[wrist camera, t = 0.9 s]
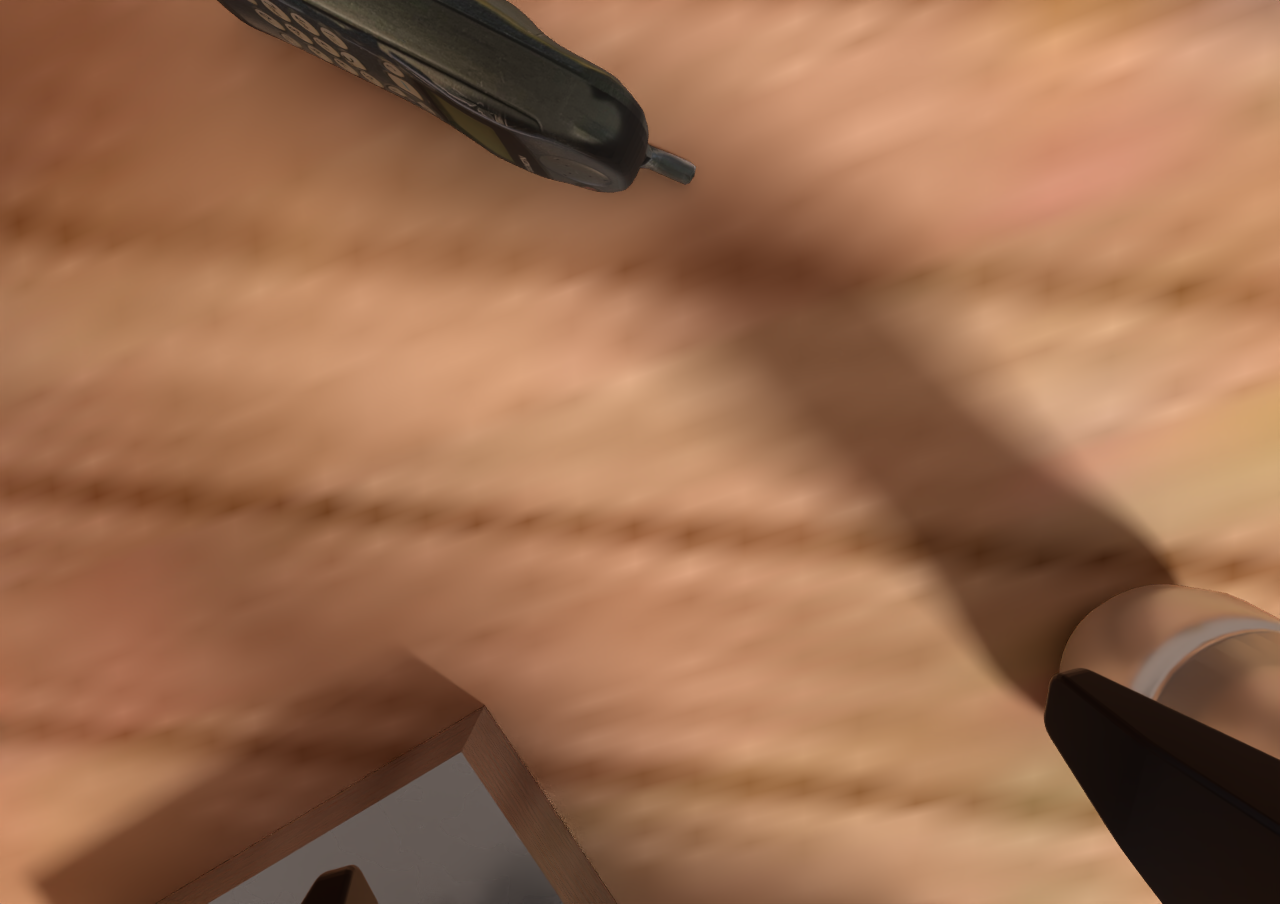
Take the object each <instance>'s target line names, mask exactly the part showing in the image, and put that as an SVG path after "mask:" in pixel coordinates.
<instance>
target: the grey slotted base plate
mask: <svg viewBox="0 0 1280 904" xmlns="http://www.w3.org/2000/svg"><path fill="white" fill-rule="evenodd" d="M348 865H355V866H357V867H359V868H360V870H361V871H362V873H363V875H364V877H365V879H366V881H367V882H368V884H369V886H370V888H371V890H372V892H373V894H374V895H375V897H376V899H377V901H378V904H617V903H616V902H615V900H614V899H613V897H612V896H611V894H610V893H609V891H608V890H607V888H606V887H605V885H604V884H603V882H602V881H601V879H600V878H599V876H598V875H597V873H596V872H595V870H594V869H593V867H592V866H591V864H590V863H589V861H588V860H587V858H586V857H585V855H584V854H583V852H582V851H581V849H580V848H579V846H578V845H577V843H576V842H575V840H574V839H573V837H572V836H571V834H570V833H569V831H568V830H567V828H566V827H565V825H564V824H563V822H562V821H561V819H560V818H559V816H558V815H557V813H556V812H555V810H554V809H553V807H552V806H551V804H550V803H549V801H548V800H547V798H546V797H545V795H544V794H543V792H542V791H541V789H540V788H539V786H538V785H537V783H536V782H535V780H534V779H533V777H532V776H531V774H530V773H529V771H528V770H527V768H526V767H525V765H524V764H523V762H522V761H521V759H520V758H519V756H518V755H517V753H516V752H515V750H514V749H513V747H512V746H511V744H510V743H509V741H508V740H507V738H506V737H505V735H504V734H503V732H502V731H501V729H500V728H499V726H498V725H497V723H496V722H495V720H494V719H493V717H492V716H491V714H490V713H489V711H488V710H487V708H486V707H485V706H484V707H482V708H480V709H479V710H477V711H475V712H474V713H472V714H470V715H469V716H467V717H465V718H464V719H462V720H460V721H459V722H457V723H455V724H454V725H452V726H450V727H449V728H447V729H445V730H444V731H442V732H440V733H439V734H437V735H435V736H434V737H432V738H430V739H429V740H427V741H425V742H424V743H422V744H420V745H419V746H417V747H415V748H414V749H412V750H410V751H409V752H407V753H405V754H404V755H402V756H400V757H399V758H397V759H395V760H394V761H392V762H391V763H389V764H387V765H386V766H384V767H382V768H381V769H379V770H377V771H376V772H374V773H372V774H371V775H369V776H367V777H366V778H364V779H362V780H361V781H359V782H357V783H356V784H354V785H352V786H351V787H349V788H347V789H346V790H344V791H342V792H341V793H339V794H337V795H336V796H334V797H332V798H331V799H329V800H327V801H326V802H324V803H322V804H321V805H319V806H317V807H316V808H314V809H312V810H311V811H309V812H307V813H306V814H304V815H302V816H301V817H299V818H297V819H296V820H294V821H292V822H291V823H289V824H287V825H286V826H284V827H283V828H281V829H279V830H278V831H276V832H274V833H273V834H271V835H269V836H268V837H266V838H264V839H263V840H261V841H259V842H258V843H256V844H254V845H253V846H251V847H249V848H248V849H246V850H244V851H243V852H241V853H239V854H238V855H236V856H234V857H233V858H231V859H229V860H228V861H226V862H224V863H223V864H221V865H219V866H218V867H216V868H214V869H213V870H211V871H209V872H208V873H206V874H204V875H203V876H201V877H199V878H198V879H196V880H194V881H193V882H191V883H189V884H188V885H186V886H184V887H183V888H181V889H179V890H178V891H176V892H174V893H173V894H171V895H170V896H168V897H166V898H165V899H163V900H161V901H160V902H158V903H156V904H301V902H302V901H303V899H304V898H305V896H306V894H307V893H308V891H309V890H310V888H311V886H312V885H313V883H314V882H315V880H316V879H317V878H318V877H319V876H320V875H321V874H322V873H324V872H326V871H330V870H333V869H337V868H341V867H344V866H348Z"/></svg>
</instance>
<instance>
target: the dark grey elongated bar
mask: <svg viewBox="0 0 1280 904" xmlns="http://www.w3.org/2000/svg"><path fill="white" fill-rule="evenodd" d="M218 1H219V2H220V3H221V4H222V5H223V6H224V7H225V8H227V9H228V10H229V11H230V12H231V13H232V14H234V15H235V16H236V17H237V18H239V19H240V20H241V21H243V22H245V23H246V24H248V25H250V26H251V27H253V28H255V29H258V30H260V31H262V32H264V33H267V34H269V35H272V36H274V37H277V38H279V39H281V40H283V41H285V42H288V43H290V44H292V45H294V46H296V47H298V48H300V49H302V50H304V51H306V52H308V53H310V54H313V55H315V56H317V57H319V58H321V59H323V60H325V61H327V62H329V63H331V64H333V65H335V66H337V67H339V68H341V69H344V70H346V71H348V72H350V73H352V74H354V75H356V76H358V77H360V78H362V79H364V80H366V81H368V82H370V83H373V84H375V85H377V86H379V87H381V88H383V89H385V90H387V91H389V92H391V93H393V94H396V95H398V96H400V97H402V98H404V99H406V100H408V101H410V102H411V103H413V104H415V105H417V106H418V107H420V108H422V109H424V110H426V111H428V112H430V113H431V114H433V115H435V116H436V117H438V118H440V119H441V120H443V121H445V122H446V123H448V124H449V125H451V126H452V127H454V128H455V129H457V130H459V131H460V132H462V133H463V134H465V135H466V136H468V137H469V138H471V139H472V140H474V141H475V142H476V143H478V144H479V145H481V146H482V147H484V148H485V149H486V150H488V151H489V152H491V153H492V154H494V155H496V156H498V157H500V158H501V159H504V160H506V161H508V162H510V163H512V164H514V165H516V166H519V167H521V168H523V169H525V170H527V171H530V172H532V173H534V174H537V175H540V176H542V177H545V178H549V179H552V180H556V181H561V182H565V183H569V184H573V185H576V186H580V187H583V188H586V189H590V190H593V191H598V192H618V191H623V190H626V189H627V188H628V187H629V186H630V185H631V184H632V182H633V181H634V179H635V177H636V176H637V173H638V171H639V169H640V168H649V169H651V170H653V171H655V172H657V173H660V174H662V175H664V176H666V177H669V178H671V179H673V180H675V181H678V182H680V183H683V184H685V185H686V184H688V183H690V181H691V180H692V179H693V177H694V174H695V170H696V166H695V165H693V164H692V163H691V162H689V161H687V160H685V159H682V158H680V157H678V156H675V155H673V154H670V153H668V152H665V151H662V150H660V149H657V148H655V147H653V146H651V145H649V144H648V126H647V122H646V119H645V115H644V112H643V110H642V108H641V107H640V105H639V104H638V103H637V101H636V100H635V99H634V98H633V96H632V95H631V94H630V93H629V91H628V90H627V89H626V88H625V87H624V86H623V85H622V83H621V82H620V81H619V80H618V79H617V78H616V77H614V76H613V75H612V74H610V73H609V72H607V71H606V70H604V69H602V68H600V67H598V66H597V65H595V64H593V63H591V62H589V61H587V60H585V59H584V58H582V57H580V56H578V55H576V54H574V53H572V52H571V51H569V50H567V49H565V48H564V47H562V46H560V45H559V44H557V43H556V42H554V41H553V40H552V39H550V38H549V37H548V36H546V35H545V34H544V33H543V32H542V31H541V30H540V29H538V28H537V27H536V25H535V24H534V23H533V22H532V21H531V20H530V19H529V18H528V17H527V16H526V15H525V14H524V13H523V12H521V11H520V10H519V9H518V8H516V7H515V6H514V5H513V4H511V3H509V2H508V1H506V0H218Z"/></svg>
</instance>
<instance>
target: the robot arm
mask: <svg viewBox="0 0 1280 904" xmlns="http://www.w3.org/2000/svg"><path fill="white" fill-rule="evenodd" d="M1044 723H1045V727H1046V730H1047V732H1048V734H1049V736H1050V738H1051V740H1052V741H1053V743H1054V744H1055V746H1056V747H1057V749H1058V751H1059V752H1060V754H1061V755H1062V757H1063V759H1064V760H1065V762H1066V763H1067V765H1068V767H1069V768H1070V770H1071V771H1072V773H1073V774H1074V776H1075V778H1076V779H1077V781H1078V782H1079V784H1080V786H1081V787H1082V789H1083V790H1084V792H1085V793H1086V795H1087V797H1088V798H1089V800H1090V801H1091V803H1092V805H1093V806H1094V808H1095V809H1096V811H1097V812H1098V814H1099V816H1100V817H1101V819H1102V820H1103V822H1104V824H1105V825H1106V827H1107V828H1108V830H1109V831H1110V833H1111V834H1112V836H1113V837H1114V839H1115V840H1116V842H1117V843H1118V845H1119V846H1120V848H1121V849H1122V851H1123V852H1124V853H1125V855H1126V856H1127V857H1128V859H1129V860H1130V862H1131V863H1132V864H1133V866H1134V867H1135V868H1136V870H1137V871H1138V872H1139V874H1140V875H1141V876H1142V878H1143V879H1144V880H1145V881H1146V883H1147V884H1148V885H1149V887H1150V888H1151V889H1152V891H1153V892H1154V893H1155V895H1156V896H1157V897H1158V898H1159V900H1160V901H1161V902H1162V904H1280V759H1278V758H1276V757H1274V756H1271V755H1269V754H1267V753H1265V752H1263V751H1261V750H1259V749H1257V748H1255V747H1252V746H1250V745H1248V744H1246V743H1244V742H1242V741H1240V740H1238V739H1235V738H1233V737H1231V736H1229V735H1227V734H1225V733H1223V732H1221V731H1219V730H1216V729H1214V728H1212V727H1210V726H1208V725H1206V724H1204V723H1202V722H1200V721H1197V720H1195V719H1193V718H1191V717H1189V716H1187V715H1185V714H1183V713H1181V712H1178V711H1176V710H1174V709H1172V708H1170V707H1168V706H1166V705H1164V704H1162V703H1159V702H1157V701H1155V700H1153V699H1151V698H1149V697H1147V696H1145V695H1143V694H1140V693H1138V692H1136V691H1134V690H1132V689H1130V688H1128V687H1126V686H1123V685H1121V684H1119V683H1117V682H1115V681H1113V680H1111V679H1109V678H1107V677H1104V676H1102V675H1100V674H1098V673H1096V672H1094V671H1092V670H1089V669H1085V668H1075V669H1071V670H1068V671H1064V672H1060V673H1057V674H1055V675H1053V676H1052V678H1051V679H1050V682H1049V688H1048V694H1047V700H1046V706H1045V712H1044ZM301 904H378V901H377V899H376V897H375V895H374V894H373V892H372V890H371V888H370V886H369V884H368V882H367V881H366V879H365V877H364V875H363V873H362V871H361V870H360V868H359V867H357V866H355V865H348V866H344V867H341V868H337V869H333V870H330V871H326V872H324V873H322V874H321V875H320V876H319V877H318V878H317V879H316V880H315V882H314V883H313V885H312V886H311V888H310V890H309V891H308V893H307V894H306V896H305V898H304V899H303V901H302V902H301Z"/></svg>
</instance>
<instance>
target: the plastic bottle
mask: <svg viewBox="0 0 1280 904" xmlns="http://www.w3.org/2000/svg"><path fill="white" fill-rule="evenodd" d="M1075 668H1085V669H1089V670H1092V671H1094V672H1096V673H1098V674H1100V675H1102V676H1104V677H1107V678H1109V679H1111V680H1113V681H1115V682H1117V683H1119V684H1121V685H1123V686H1126V687H1128V688H1130V689H1132V690H1134V691H1136V692H1138V693H1140V694H1143V695H1145V696H1147V697H1149V698H1151V699H1153V700H1155V701H1157V702H1159V703H1162V704H1164V705H1166V706H1168V707H1170V708H1172V709H1174V710H1176V711H1178V712H1181V713H1183V714H1185V715H1187V716H1189V717H1191V718H1193V719H1195V720H1197V721H1200V722H1202V723H1204V724H1206V725H1208V726H1210V727H1212V728H1214V729H1216V730H1219V731H1221V732H1223V733H1225V734H1227V735H1229V736H1231V737H1233V738H1235V739H1238V740H1240V741H1242V742H1244V743H1246V744H1248V745H1250V746H1252V747H1255V748H1257V749H1259V750H1261V751H1263V752H1265V753H1267V754H1269V755H1271V756H1274V757H1276V758H1278V759H1280V619H1278V618H1276V617H1275V616H1273V615H1271V614H1269V613H1267V612H1265V611H1263V610H1261V609H1260V608H1258V607H1256V606H1254V605H1252V604H1250V603H1248V602H1246V601H1244V600H1242V599H1239V598H1237V597H1234V596H1232V595H1229V594H1227V593H1222V592H1217V591H1211V590H1205V589H1199V588H1192V587H1186V586H1179V585H1172V584H1155V585H1147V586H1142V587H1138V588H1133V589H1130V590H1128V591H1125V592H1123V593H1121V594H1118V595H1116V596H1114V597H1112V598H1111V599H1109V600H1107V601H1106V602H1104V603H1103V604H1101V605H1100V606H1098V607H1097V608H1095V609H1094V610H1092V611H1091V612H1090V613H1089V614H1088V615H1087V616H1086V617H1085V618H1084V619H1083V620H1082V621H1081V622H1080V623H1079V624H1078V626H1077V627H1076V629H1075V630H1074V631H1073V633H1072V634H1071V636H1070V638H1069V640H1068V642H1067V644H1066V646H1065V649H1064V651H1063V655H1062V659H1061V663H1060V669H1059V673H1060V672H1064V671H1068V670H1071V669H1075Z"/></svg>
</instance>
